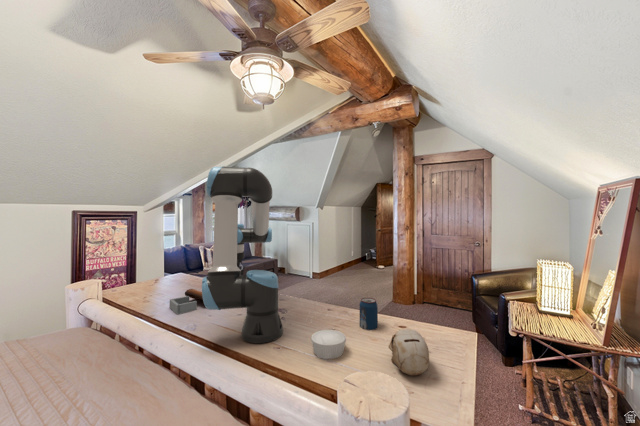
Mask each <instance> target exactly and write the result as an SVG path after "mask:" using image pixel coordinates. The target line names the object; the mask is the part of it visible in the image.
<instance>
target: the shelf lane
mask: <svg viewBox="0 0 640 426" xmlns="http://www.w3.org/2000/svg"><path fill="white" fill-rule="evenodd" d="M197 306H198V302H197V300H194V301H190V297H189V296H185V295H184V296H181V297H176V298H170V299H169V309H170V310H171V311H172V312H173V313H175V315H181V314H184V313H185V314H186V313H189V312H194V311H197V310H198V307H197Z"/></svg>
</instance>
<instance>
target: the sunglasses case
mask: <svg viewBox="0 0 640 426" xmlns="http://www.w3.org/2000/svg"><path fill="white" fill-rule="evenodd" d="M185 296H189V299H194V300H197V299H198V300H201V301H203V297H202V291H200V290H197V289H194V288H190V289H189V288H188V289H187V290H186V291H185V292H184V297H185Z"/></svg>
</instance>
